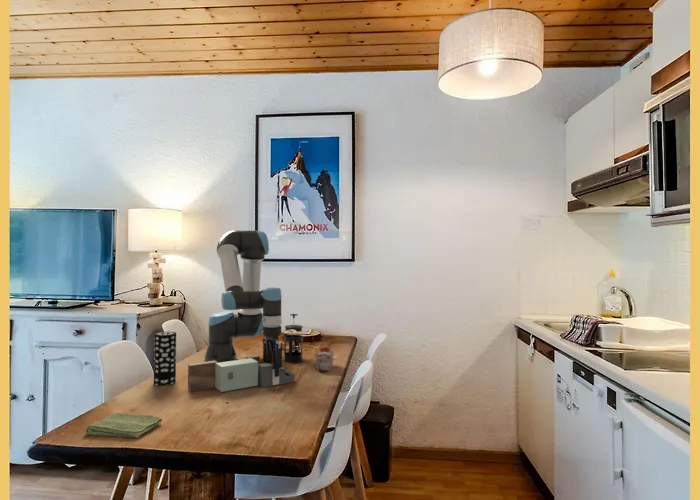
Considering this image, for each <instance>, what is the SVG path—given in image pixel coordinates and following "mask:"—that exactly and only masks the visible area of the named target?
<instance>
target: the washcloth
mask: <svg viewBox="0 0 700 500" xmlns="http://www.w3.org/2000/svg"><path fill="white" fill-rule="evenodd" d="M162 421H163V418H161V417H160V416H155V415H150V414H149V415H148V414H131V413H130V414H129V413H121V412H117V413H112V414H110V415H108V416H105V418H102V420H99V421H96V422H94V423H92V424H90V425H88V426H87V427H86V429H85V433H86V434H87V435H89V436H96V435H97V437H106V436H112V437H111V438H131V439H139V438H140V437H141V436H143V435H144V434H145V433H146V432H149V431H151V430H152V429H154V428H155V427H156V426H157V425H159V424H160V423H162ZM114 436H115V437H114Z"/></svg>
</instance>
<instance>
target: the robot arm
mask: <svg viewBox="0 0 700 500" xmlns="http://www.w3.org/2000/svg"><path fill="white" fill-rule="evenodd" d="M268 239H269V238H268V236H267V234H266V232H264V231H262V230H237V229H234V230H229V231H227V232H226V233H225V234H223V235H222V236H221V237H220V239H219V240H218V242H217V246H216V254H217V257H218V258H219V259H220V266H221V271H222V278H223V284H224V291H223V292H222V293H221V301H220V302H221V308H222V309H223V310H224V311H220V312H219V311H218V312H215V313H212V314H211V315H209V317H208V324H207V326H208V341H207V342H208V344H207V347H206V350H205V352H204V353H205V354H204V361H203V362H208V361H217V362H218V363H220V362H227V361H235V360H237V353H236V350H235V346H234V339H235V338H247V337H248V338H253V337H258V336H261V335H262V336H264V337H265V338H262V364H265V363H271V364H273V368H272V385H273V386H278V385H277V384H279V368H281V367H283V342H280V339H279V337H280V336H282V326H281V325H282V298H283V296H282V289H281V288H280V287H264V288H263V289H262V290H260V287H261V272H262V271H261V270H262V262H263V261H264V260H265V258H266V257H265V256H267V255H268V254H269V251H270V248H269V240H268ZM238 255H240V259H241V261H242V262H243V263H242V264H243V265H242V275H241V270H240V265H239V259H238ZM261 309H262V310H261ZM225 310H226V311H225ZM236 310H237V313H236V314H235V312H233V311H236ZM279 385H280V384H279Z"/></svg>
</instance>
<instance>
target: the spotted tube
mask: <svg viewBox="0 0 700 500" xmlns="http://www.w3.org/2000/svg"><path fill="white" fill-rule="evenodd" d="M153 340H154V341H153V345H154V346H153V385H154V386H161V387H162V386H163V387H164V386H170V385H172V384H175V383H176V382H177V381H176V380H177V372H176V371H177V332H175V331H160V332H155V333H154V337H153Z"/></svg>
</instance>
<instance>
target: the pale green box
mask: <svg viewBox="0 0 700 500" xmlns="http://www.w3.org/2000/svg"><path fill="white" fill-rule="evenodd" d="M256 386H259V385H258V361H256V360H254V359H252V358H249V359H246V358H242V359H236V360H234V361H227V362H220V363H215V388H214V389H216V390H218V391H219V392H221V393H222V392H223V393H224V392H229V391H236V390H240V389H245V388H251V387H256Z"/></svg>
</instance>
